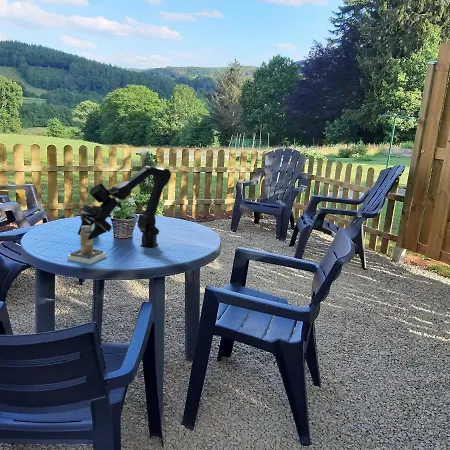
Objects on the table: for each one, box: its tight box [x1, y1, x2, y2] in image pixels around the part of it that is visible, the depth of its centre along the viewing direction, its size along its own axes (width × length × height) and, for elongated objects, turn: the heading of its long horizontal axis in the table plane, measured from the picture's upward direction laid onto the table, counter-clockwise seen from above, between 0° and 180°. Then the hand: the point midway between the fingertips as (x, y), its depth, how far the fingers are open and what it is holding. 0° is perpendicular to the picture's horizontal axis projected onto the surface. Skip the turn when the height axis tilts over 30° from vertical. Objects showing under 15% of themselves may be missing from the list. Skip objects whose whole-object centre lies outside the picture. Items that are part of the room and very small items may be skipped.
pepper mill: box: [79, 225, 94, 256], centre depth 185 cm, size 5×5×12 cm
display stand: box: [66, 248, 107, 265], centre depth 186 cm, size 12×11×3 cm
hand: (83, 236), depth 183 cm, fingers open, 9 cm apart
